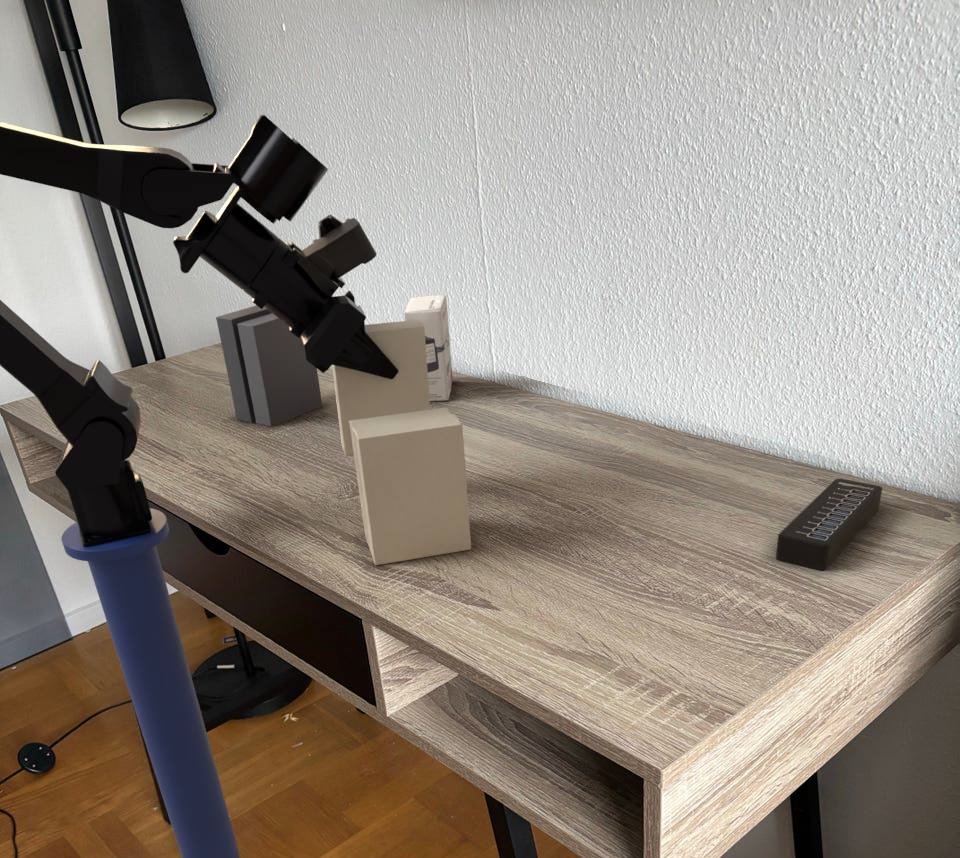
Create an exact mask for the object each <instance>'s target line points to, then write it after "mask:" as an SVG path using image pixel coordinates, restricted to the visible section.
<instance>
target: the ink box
mask: <svg viewBox="0 0 960 858" xmlns="http://www.w3.org/2000/svg"><path fill="white" fill-rule="evenodd" d="M447 301H448V300H447V295H445V294H436V295H426V296H416V297H410V299H409V301H408V303H407V306H406V308H405V310H404V312H403V316H404V318H403V319H404V321H409V320H419V321H420V322H421V323H422V324H423V326H424V329H425V343H426V358H427V372H428V386H429V401H430V402H439V401H441V402H443V401H449V399H450V395H451V391H452V386H453V382H454V381H453V369H452V367H453V366H452V354H451V342H450V341H451V339H450V338H451V337H450V325H449V324H450V323H449V313H448V302H447Z"/></svg>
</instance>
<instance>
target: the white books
mask: <svg viewBox="0 0 960 858" xmlns="http://www.w3.org/2000/svg"><path fill="white" fill-rule="evenodd" d="M349 423H350V430H351V438H352V445H353V452H354V456H353V457H354V458H353V459H354V466H355V471H356V472H355V474H356V479H357V480H356V481H357V487H358V488H357V489H358V495H359V501H360V509H361V516H362V523H363V524H362V525H363V531H364V537H365V540H366V543H367V545H368V549H369V551H370V555H371V557H372V560H373V563H374V566H381V565H386V564H392V563H398V562H399V563H400V562H404V561H410V560H411V561H412V560H417V559H422V558H429V557H434V556H440V555H446V554H453V553H458V552H464V551H468V550H469V551H470V550H472V539H471V525H470V513H469V498H468V483H467V471H466V457H465V443H464V431H463V428H464V427H463V423H462V422H461V420H460V419H459V418H458V416H457V415H456V414H455V413H451V411H450V410H449V408H448V407H446V406H445V407H438V408H430V410H423V411H416V412H408V413H401V414H394V415H387V416H380V417H373V418H365V419H358V420H351V421H349Z"/></svg>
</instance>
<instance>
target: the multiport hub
mask: <svg viewBox="0 0 960 858" xmlns="http://www.w3.org/2000/svg"><path fill="white" fill-rule="evenodd" d="M882 493H883V487H882V486H880V485H876V484H872V483H871V484H870V483H865V482H859V481H856V480H855V481H854V480H850V479H844V478H835V479H834V480H833V481H831V482H830V483H829V485H827V486H826V488H825V489H823V490H822V491H821V492H820V493H819V494H818V495H817V496H816V497H815V498H814V499H813V500H812V501H811V502H810V503H809V504H808V505H807V506H806V507H805V508H803V510H801V512H800V513H799V514H798V515H797V516H796V517H794V518H793V520H792V521H790V523H788V524H787V525H786V526H785V527H784V528H783V529H782V530H781V531H780V532H779V533H778V535H777V541H776V542H777V543H776V549H775V550H776V551H775V559H776V560H777V561H780V562H784V563H785V562H786V563H788V564H792V565H796V566H801V567H805V568H809V569H813V570H817V571H825V570H827V569H828V568H829V567H830V566H831V565H832V564H833V562H834V561H835V560H836V559H837V558H838V556H840V554H841V553H842V552H843V551H844V550H845V549H846V548H847V546H848V545H849V544H850V543H851V542H852V541H853V540H854V539H855V537H856V536H857V535H858V534H859V533H860V532H861V531H862V530H863V528H864V527H865V526H866V525H867V524H868V523H869V522H870V521H871V519H872V518H873V517H874V516H875V515H876V514H877V513H878V512H879V509H880V504H881V498H882Z"/></svg>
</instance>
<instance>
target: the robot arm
mask: <svg viewBox="0 0 960 858" xmlns="http://www.w3.org/2000/svg"><path fill="white" fill-rule="evenodd" d="M328 171H329V168H327V167H326V166H325V164H323V163H322V162H321V161H320V160H319V159H317V157H316V156H315V155H313V154H312V153H311V152H310V151H309V150H308V149H307V148H305V147H304V145H302V144H301V143H300V142H299V141H298V140H297V139H295V138H294V137H292V138H290V136H288V135H287V134H286V133H285V132H284V131H283V130H282V129H281V128H280V127H278V125H276V124H275V123H274V122H273V121H272V120H271V119H270V118H269V117H268V116H267V115H265V114H260V116H259V117H258V119H257V120H256V122H255V123H254V125H253V126H252V127H251V131H250V134H249V136H248V138H246V141H244V144H243V145H242V146H241V148H240V149H239V151H238V152H237V154H236V155H235V156H234V158H233V159H232V161H231V162H230V164H229V165H224V164H219V163H218V162H217V161H216V162H215V164H209V163H199V162H198V163H197V162H191V161H190V160H189V158H188V157H187V156H185V155H184V154H183V153H181V152H179V151H177V150H174V149H172V148H168V147H167V148H166V147H157V146H156V147H155V146H141V145H140V146H139V145H125V144H124V145H123V144H122V145H121V144H120V145H119V144H99V143H98V144H96V143H88V142H87V143H86V142H82V141H79V140H74V139H71V138H66V137H63V136H58V135H55V134H54V135H53V134H50V133H45V132H41V131H37V130H33V129H31V128H25V127H22V126H17V125H14V124H10V123H6V122H1V121H0V175H1V176H6V177H10V178H14V179H19V180H23V181H27V182H31V183H36V184H40V185H44V186H49V187H53V188H57V189H62V190H66V191H70V192H73V193H79V194H82V195H85V196H87V197H89V198H92V199H94V200H97V201H99V202H101V203H103V204H104V205H107V206H109V207H111V208H113V209H115V210H117V211H119V212H121V213H123V214H126V215H128V216H130V217H132V218H136V219H138V220H140V221H143V222H145V223H148V224H151V225H153V226H155V227H158V228H161V229H177V228H181V227H182V226H184V225H185V224H186V223H188V222H189V221H191V220H192V219H193V218H194V216H195V215H196V213H197V212H198V209H199V208H200V207H203V206H207V205H209V204H213V203H216V202H219V201H221V200H223V199H224V197H225V196H226V194H227V193H228V191H229V190H230V189H231V187H232V186H233V185H234V184H235V185H236V188H234V190H233V191H232V193H231V195H230V196H229V197H228V199H227V200H226V202H225V203H224V204H223V206H222V207H221V209H220V210H219V211H218V213H216V215H215V214H213V213H211V212H209V211H207V210H204V212H203V213H202V215H200V217H199V219H198V220H197V222H196V223H195V225H194V226H193V227H192V229H191V230H190V232H189V233H188V235H185V236H174V238H173V240H172V241H173V243H172V244H173V246H174V248H175V250H176V252H177V255H178V258H179V267H180V271H181V273H183V274H189V272H190V271H191V270H192V268H193V267H194V265H195V264H196V263H197V261H198V260H199V258H201V259H202V260H203V261H204V262H206V263H207V264H208V265H210V266H211V267H212V268H213V269H215V270H216V271H217V272H219V273H220V274H221V275H222V276H223V277H225V278H227V279H228V280H229V281H230V282H231V283H233V284H234V285H235V286H237V287H238V288H239V289H241V290H242V291H243V292H244V293H246V295H248V296H249V297H251V301H252V304H254V305H255V306H256V305H257V306H258V307H259V308H261V309H263V307H265V308H266V309H267V310H269V311H270V312H271V313H273V314H274V315H275V316H276V317H278V318H279V319H280V320H282V321H283V322H284V323H285V324H287V325H288V326H289V329H290V332H292V333H293V334H294V335H295V336H297V337H298V338H300V336H301V335H302V336H301V340H302V346H303V352H304V355H305V358H306V360H307V361H308V362H309V363H311V364H312V365H313V366H315V367H316V368H317V371H320V372H321V373H322V374H324V373H325V372H327V371H328V370H329V369H330V368H331V367H332V365H335V366H339V367H344V368H348V369H353V370H357V371H361V372H365V373H369V374H372V375H376V376H380V377H384V378H388V379H393V378H394V377H395V376H396V375H397V374H398V369H397V368H396V367H395V365H394V364H393V363H392V362H391V361H390V360H389V358H388V357H387V356H386V355H385V354H384V353H383V351H382V350H381V349H380V348H379V347H378V346H377V344H376V343H375V342H374V341H373V340H372V339H371V337H370V336H369V335H368V334H367V333H366V332H365V325H366V324H365V321H366V319H367V315H366V314H365V311H364V310H363V308H362V306H361V305H360V304H359V305H357V304H356V299H355V295H354V294H353V293H352V291H351V290H348V291H347V292H346V293H345V294H344V295H337V296H334V294H335V293H336V292H337V290H338V289H339V288H340V289H343V288H344V287H345V285H346V283H345V281H344V279H343V278H342V277H343V276H344V275H346V274H348V273H350V272H351V271H352V270H354V269H356V268H357V267H359V266H361V265H362V264H364V265H366V264H368V263H369V262H371V261H372V260H374V259H375V258H376V257H377V252H376V250H375V248H374V247H373V245H372V243H371V241H370V240H369V237H368V236H367V234H366V232H365V230H364V228H363V227H362V224H361V223H360V222H359V221H358V219H356V218H355V217H353V218H352V217H351V218H346V219H345V221H341V220H339V219H338V218H336V217H335V216H333V215H332V214H329V215H327V216H325V217H324V218H322V219H320V220H319V221H318V222H317V227H318V228H317V229H318V239H317V238H315V239H314V240H312V243H311V244H309V245H308V246H307V247H305V248H304V249H302V248H300V247H299V246H298V245H296V244H295V243H294V242H292V241H290V243H289V242H288V241H285V242H284V241H283V240H282V239H281V238H280V237H279V236H277V234H275V233H274V232H273V231H272V230H270V229H269V228H268V227H266V225H264V224H263V223H262V222H261V221H260V220H258V219H257V218H256V217H255V216H253V215H252V214H251V213H250V212H249V211H247V210H246V209H245V208H244V207H243V206H241V205H240V204H239V203H238V202H239V201H240V200H241V199H242V200H244V201H245V202H246V203H247V204H248V205H249V206H250V207H251V208H252V209H253V210H255V211H256V212H257V213H259V214H260V215H261V216H262V217H263V218H265V219H266V220H267V221H269V223H271V224H275V223H276V222H277V221H279V222H280V221H281V220H282V219H283V218H284V219H286V220H287V221H289V222H292V221H293V220H294V218H295V217H296V216H297V214H298V212H299V211H300V210H301V209H302V207H303V206H304V204H305V203H306V201H307V200H308V199H309V197H310V196H311V194H312V193H313V192H314V191H315V189H316V188H317V186H318V185H319V183H320V182H321V180H322V179H323V178H324V177H325V176H326V174H327V173H328ZM304 331H305V332H304ZM303 332H304V333H303ZM0 367H1V368H2V369H4V370H5V371H6V372H7V373H8V374H9V375H11V376H12V377H13V378H14V379H15V380H16V381H18V382H19V383H20V384H21V385H22V386H23V387H25V388H26V389H27V390H29V391H30V392H31V393H32V394H33V395H34V396H35V398H36V399H37V400H38V402H39V403H40V405H41V407H42V408H43V409H44V410H45V412H46V414H47V416H48V417H49V419H50V420H51V421H52V423H53V425H54V426H55V428H56V429H57V431H58V432H59V433H60V434H61V435H62V436H63V437H64V438H65V440H66V443H65V445H64V448H63V450H62V452H61V456H60V458H59V460H58V463H57V466H56V469H55V476H56V477H57V478H58V480H59V481H60V482H61V484H62V485H63V486H64V487H65V489H66V490H67V493H68V497H69V500H70V503H71V506H72V510H73V512H74V516H75V519H76V522H78V526H79V531H80V536H81V541H82V545H83V547H91V546H95V545H99V544H104V543H108V542H113V541H117V540H122V539H126V538H131V537H135V536H140V535H144V534H148V533H150V532H151V528H150V525H149V522H148V521H151V520H152V515H151V511H150V508H151V507H150V504H149V501H148V497H147V493H146V489H145V485H144V482H143V479H142V477H141V475H140V474H139V473H134V470H133V466H132V464H131V460H129V458H130V457H131V456H132V455H133V453H134V452H135V451H136V448H137V444H138V439H139V433H140V428H141V423H142V418H141V409H140V407H139V405H138V403H137V401H136V400H135V398H134V397H133V396H132V394H133V387H132V386H129V385H127V384H124V383H123V382H121V381H120V380H118V379H117V378H116V377H115V376H114V375H113V373H112V372H111V371H110V370H109V368H108V367H107V366H106V365H105V364H104V363H103V362H102V361H101V360H100V359H97V360H96V361H95V362H94V363H93V365H92V367H91V368H90V369H88V368H86V367H84V366H82V365H79V364H78V363H75V362H73V361H71V360H70V359H68V358H66V357H65V356H64V354H62V353H60V352H59V350H57V348H55V347H54V346H52V345H51V343H49V342H48V341H47V340H46V338H44V337H43V336H41V334H40V333H38V332H37V331H36V330H35V329H34V328H33V327H32V326H31V325H29V324H28V323H27V322H26V321H25V320H24V319H23V318H21V317H20V315H18V314H17V313H16V312H15V311H13V310H12V308H10V307H9V306H8V305H7V304H6V303H5V302H4V301H2V300H1V299H0Z"/></svg>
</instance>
